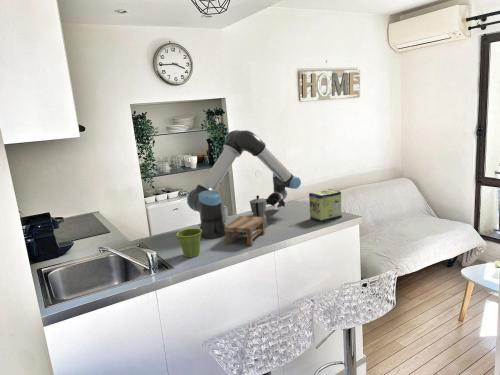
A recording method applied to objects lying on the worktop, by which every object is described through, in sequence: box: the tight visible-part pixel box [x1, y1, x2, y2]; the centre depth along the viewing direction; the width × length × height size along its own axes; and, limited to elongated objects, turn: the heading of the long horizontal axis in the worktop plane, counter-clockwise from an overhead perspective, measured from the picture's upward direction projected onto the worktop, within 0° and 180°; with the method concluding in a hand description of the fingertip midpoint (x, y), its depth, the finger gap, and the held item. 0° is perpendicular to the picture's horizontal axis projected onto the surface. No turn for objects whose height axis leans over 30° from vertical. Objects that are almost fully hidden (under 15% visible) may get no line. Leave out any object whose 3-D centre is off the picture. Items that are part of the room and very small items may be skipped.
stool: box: [224, 215, 266, 247], centre depth 195 cm, size 14×20×9 cm
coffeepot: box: [249, 195, 269, 230], centre depth 212 cm, size 15×9×18 cm, turn 175°
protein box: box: [308, 188, 343, 223], centre depth 219 cm, size 10×16×16 cm
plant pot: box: [175, 227, 202, 258], centre depth 177 cm, size 12×12×11 cm
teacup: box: [222, 205, 229, 222], centre depth 233 cm, size 14×11×8 cm
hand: (263, 207), depth 217 cm, fingers open, 13 cm apart
